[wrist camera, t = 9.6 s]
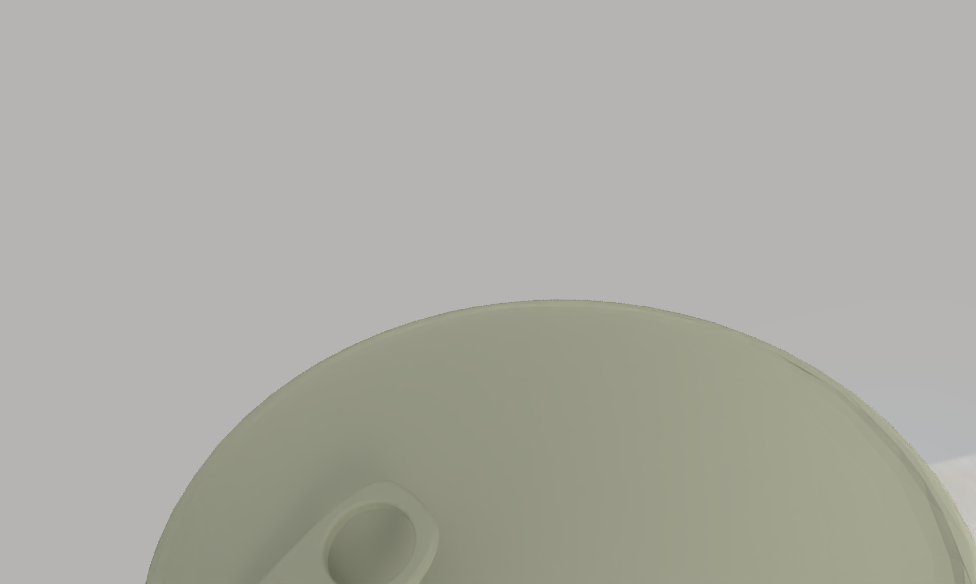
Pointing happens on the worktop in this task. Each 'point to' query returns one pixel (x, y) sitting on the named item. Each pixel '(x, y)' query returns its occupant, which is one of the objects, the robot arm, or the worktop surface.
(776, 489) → the can
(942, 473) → the worktop surface
